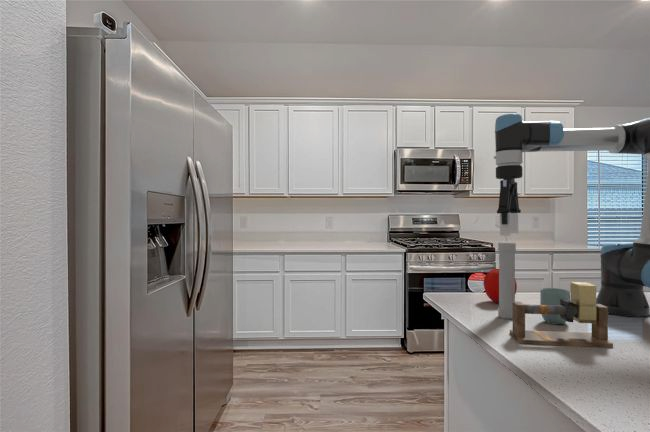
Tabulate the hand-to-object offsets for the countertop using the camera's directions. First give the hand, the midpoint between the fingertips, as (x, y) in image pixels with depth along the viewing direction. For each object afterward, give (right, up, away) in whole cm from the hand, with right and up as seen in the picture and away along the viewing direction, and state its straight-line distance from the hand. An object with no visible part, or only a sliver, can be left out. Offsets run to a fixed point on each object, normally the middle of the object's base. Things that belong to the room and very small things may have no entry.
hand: (509, 234), depth 125 cm
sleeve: (+11, -22, -18) cm, 31 cm away
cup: (+14, -27, -1) cm, 31 cm away
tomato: (+9, -27, +27) cm, 40 cm away
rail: (+5, -27, -17) cm, 33 cm away
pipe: (+2, -27, +6) cm, 28 cm away
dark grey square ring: (+7, -22, -18) cm, 29 cm away
